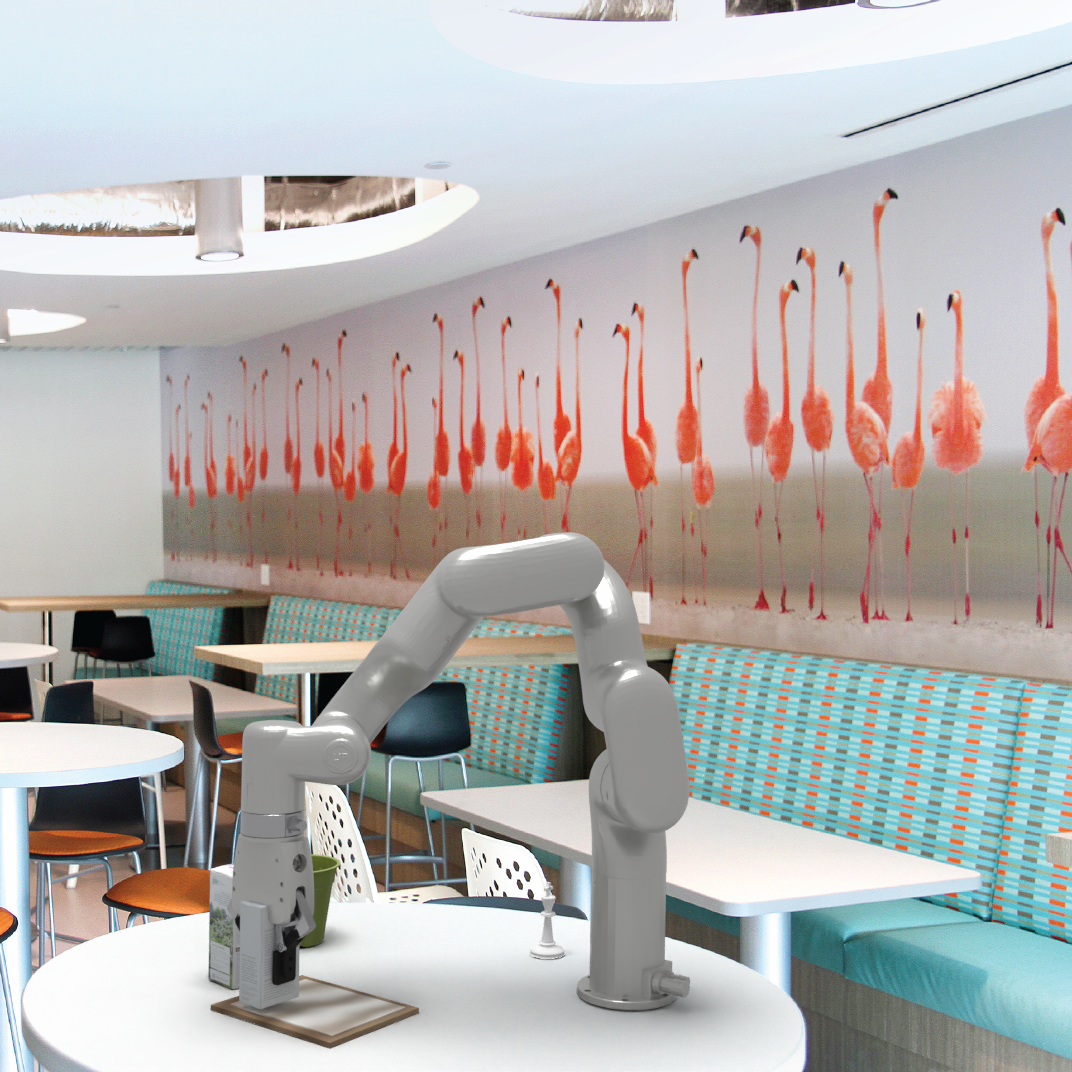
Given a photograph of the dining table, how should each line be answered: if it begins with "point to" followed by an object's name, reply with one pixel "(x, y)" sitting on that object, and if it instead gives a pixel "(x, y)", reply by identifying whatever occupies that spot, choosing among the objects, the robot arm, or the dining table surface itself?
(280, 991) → the skincare box
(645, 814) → the robot arm
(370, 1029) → the clipboard
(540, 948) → the chess piece
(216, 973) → the syrup box
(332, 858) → the plant pot
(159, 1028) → the dining table surface
